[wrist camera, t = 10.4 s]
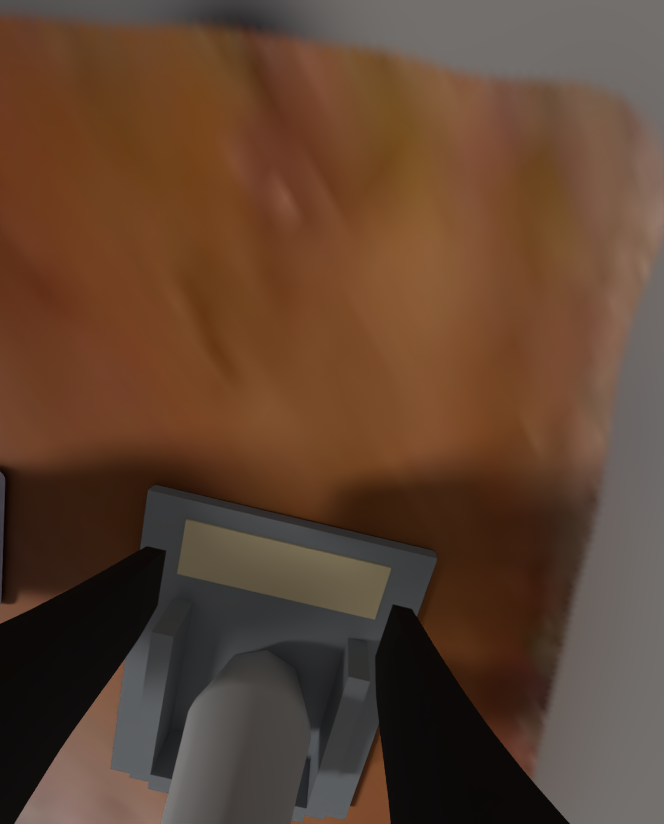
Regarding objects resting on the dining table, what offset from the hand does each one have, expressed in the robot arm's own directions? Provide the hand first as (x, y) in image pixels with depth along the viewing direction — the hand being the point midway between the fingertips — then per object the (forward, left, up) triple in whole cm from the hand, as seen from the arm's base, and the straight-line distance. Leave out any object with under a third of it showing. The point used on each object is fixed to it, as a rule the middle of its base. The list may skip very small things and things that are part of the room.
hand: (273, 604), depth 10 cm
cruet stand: (0, -10, -6) cm, 11 cm away
